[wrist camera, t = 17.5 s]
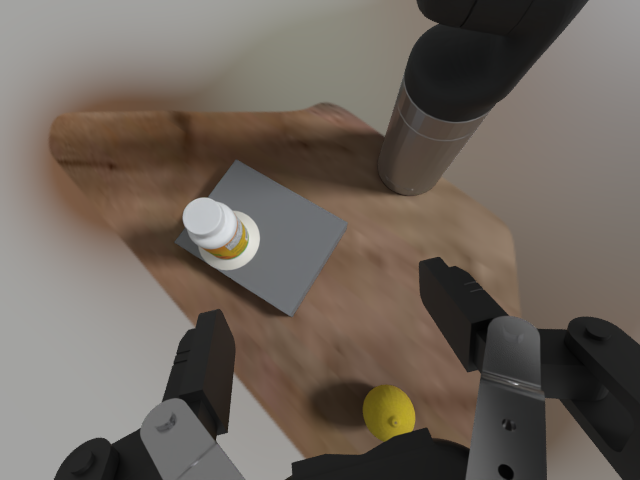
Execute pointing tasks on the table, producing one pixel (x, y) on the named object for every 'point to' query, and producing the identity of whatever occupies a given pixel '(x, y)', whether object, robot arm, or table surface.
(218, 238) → the supplement bottle
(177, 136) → the table surface
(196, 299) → the table surface
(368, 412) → the lemon
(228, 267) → the plinth
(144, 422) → the robot arm
